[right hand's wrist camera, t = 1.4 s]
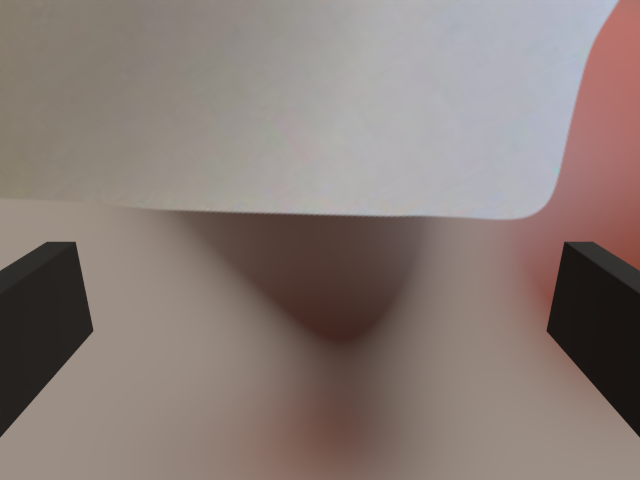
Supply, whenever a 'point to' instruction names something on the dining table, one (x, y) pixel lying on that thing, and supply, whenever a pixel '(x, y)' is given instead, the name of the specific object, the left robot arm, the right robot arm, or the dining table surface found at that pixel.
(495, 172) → the dining table surface
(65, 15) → the dining table surface
